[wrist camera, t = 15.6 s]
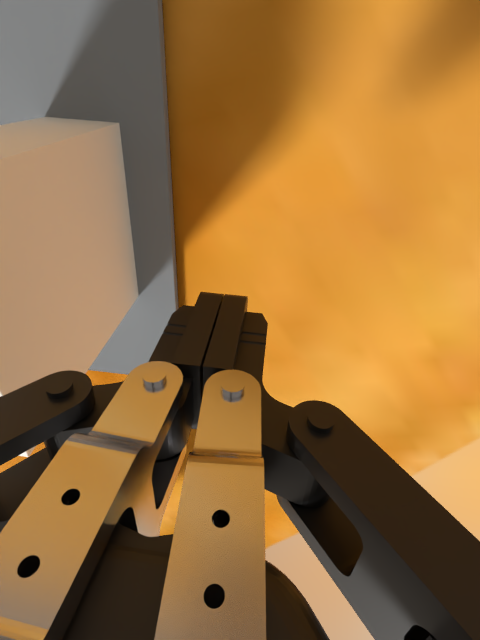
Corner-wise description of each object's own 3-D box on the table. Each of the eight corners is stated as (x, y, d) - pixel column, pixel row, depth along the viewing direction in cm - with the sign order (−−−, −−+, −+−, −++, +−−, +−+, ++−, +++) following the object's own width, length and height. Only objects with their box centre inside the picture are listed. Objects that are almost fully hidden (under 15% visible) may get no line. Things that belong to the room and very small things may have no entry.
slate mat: (-290, -95, 15) (-311, -101, 14) (157, -82, 13) (152, -87, 13) (-62, 345, 27) (-69, 351, 26) (182, 374, 26) (179, 380, 25)
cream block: (44, 116, 17) (-242, 171, 8) (119, 122, 17) (-87, 186, 8) (81, 289, 22) (-68, 443, 13) (138, 295, 22) (28, 456, 13)
